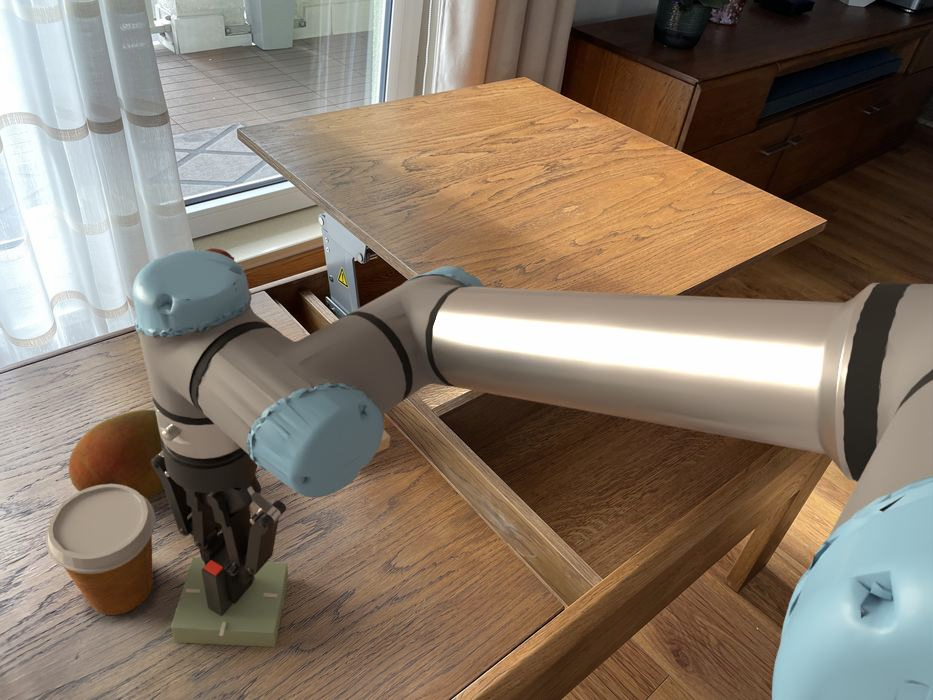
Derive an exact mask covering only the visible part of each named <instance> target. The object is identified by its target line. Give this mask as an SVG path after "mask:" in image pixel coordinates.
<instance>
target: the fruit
mask: <svg viewBox="0 0 933 700" xmlns="http://www.w3.org/2000/svg"><path fill="white" fill-rule="evenodd" d="M162 451H163V450H162V445H161V436H160V432H159V427H158V422H157V416H156V411H155V409H140V410H139V409H138V410H134V411H129V412H125V413H122V414H119V415H115V416H112V417H110V418H108V419H106V420H103V421H102V422H100V423H98V424H96V425H95V426H94V427H92V428H91V429H90V430H88V431H87V432H86V433H85V434H84V435H83V436H82V437H81V439H80V440H79V441H78V442H77V443H76V444H75V446H74V448H73V450H72V451H71V454H70V457H69V461H68V474H69V479H70V481H71V484H72V485H73V487H74V488H75V489H76V490H77V491H78V492H80V491H82V490H84V489H87V488H90V487H93V486H97V485H104V484H118V485H123V486H127V487H129V488H132V489H134V490H136V491H137V492H138V493H139V494H141V495H142V496H144V497H145V498H146V499H147V500H148V501H149V500H150V499H152V498H154V497H156V496H157V495H159V494H160V493H161V492H163V490H164V488H163V485H162V482H161V479H160V478H159V476H158V475H157V473H156V472H155V470H154V468H153V467H152V465H151V463H150V461H151V460H152V459H153V458H154V457H156V456H157V455H158V454H159V453H160V452H162Z"/></svg>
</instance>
